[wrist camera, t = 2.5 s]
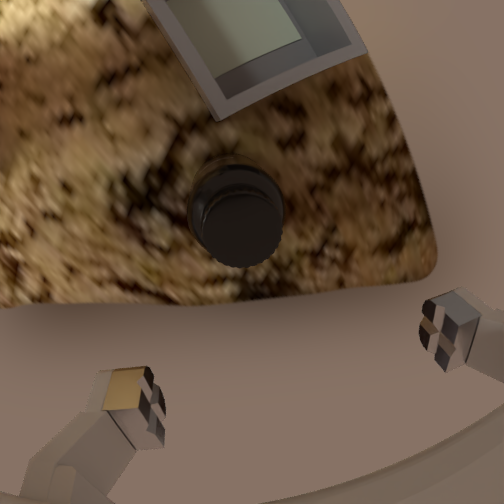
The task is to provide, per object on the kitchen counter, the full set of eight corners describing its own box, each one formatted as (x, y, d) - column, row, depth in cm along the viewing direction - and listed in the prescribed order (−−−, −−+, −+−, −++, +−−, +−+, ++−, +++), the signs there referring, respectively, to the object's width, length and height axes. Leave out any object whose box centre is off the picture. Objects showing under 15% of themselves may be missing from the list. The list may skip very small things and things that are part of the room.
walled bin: (328, 66, 26) (368, 52, 19) (215, 121, 27) (221, 120, 19) (247, -57, 20) (262, -99, 12) (134, -9, 20) (115, -46, 13)
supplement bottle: (213, 139, 27) (221, 148, 16) (278, 174, 29) (324, 206, 18) (178, 204, 29) (164, 255, 18) (242, 236, 31) (264, 299, 20)
